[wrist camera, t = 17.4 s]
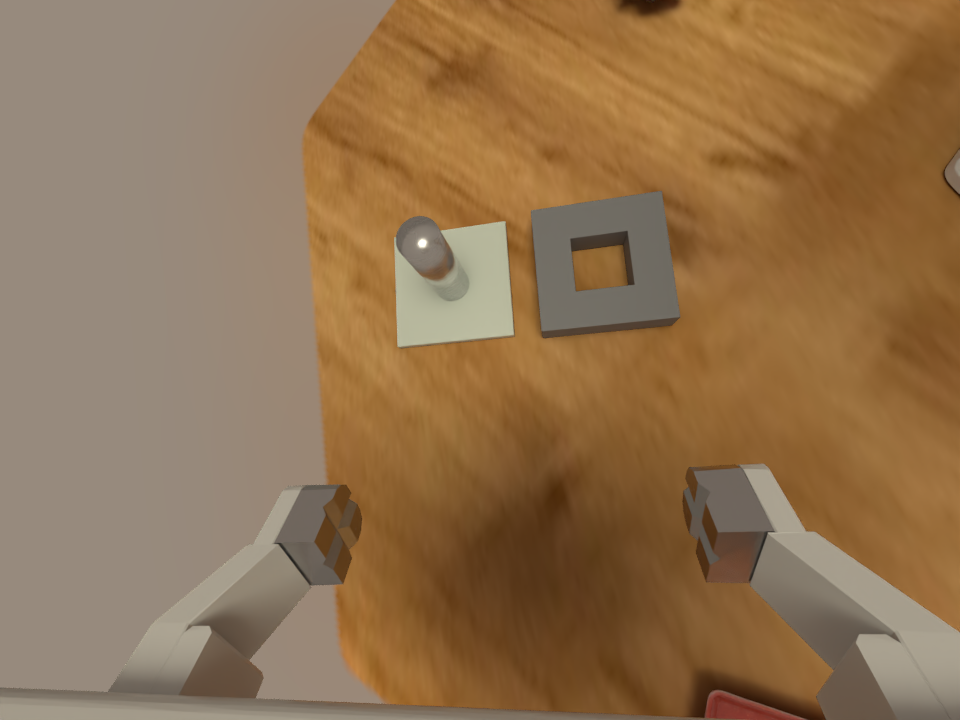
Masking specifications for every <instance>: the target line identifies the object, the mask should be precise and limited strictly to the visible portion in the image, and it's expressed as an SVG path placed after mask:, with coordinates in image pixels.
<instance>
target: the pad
mask: <svg viewBox="0 0 960 720" xmlns="http://www.w3.org/2000/svg"><path fill="white" fill-rule="evenodd" d="M441 233H442V234H443V236H444V238H445V239H446V241H447V243H448V244H449V246H450V248H451V249H452V251H453V253H454V254H455V256H456V257H457V259H458V261H459V262H460V264H461V266H462V267H463V269H464V271H465V272H466V274H467V276H468V278H469V288H468V291H467V293H466V294H465V295H464V296H463V297H462V298H460V299H459V300H456V301H446V300H444V299H442V298H441V297H440V296H439V295H438V294H437V293H436V292H435V291H434V290H433V289H432V288H431V286H430V285H429V284H428V283H427V282H426V281H425V280H424V279H423V278H422V277H421V275H420V274H419V273H418V272H417V271H416V270H415V269H414V268H413V267H412V266H411V264H410V263H409V262H408V261H407V260H406V259H405V258H404V257H403V256H402V255H401V253H400V252H399V251H398V249H397V246H396V237H395V238H394V243H395V276H396V309H397V342H398V347H399V348H409V347H418V346H428V345H438V344H448V343H458V342H467V341H477V340H487V339H497V338H507V337H515V333H514V320H513V307H512V295H511V282H510V269H509V256H508V244H507V231H506V223H505V221H504V222H497V223H490V224H483V225H477V226H470V227H463V228H456V229H449V230H443V231H441Z"/></svg>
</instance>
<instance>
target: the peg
mask: <svg viewBox="0 0 960 720" xmlns="http://www.w3.org/2000/svg"><path fill="white" fill-rule="evenodd" d="M396 246H397V249H398V251H399V252H400V253H401V255H402V256H403V257H404V258H405V259H406V260H407V261H408V262H409V263H410V264H411V266H412V267H413V268H414V269H415V270H416V271H417V272H418V273H419V274H420V275H421V277H422V278H423V279H424V280H425V281H426V282H427V283H428V284H429V285H430V286H431V288H432V289H433V290H434V291H435V292H436V293H437V294H438V295H439V296H440V297H441V298H442V299H444V300H446V301H456V300H459V299H460V298H462V297H463V296H464V295H465V294H466V293H467V291H468V288H469V278H468V276H467V274H466V272H465V271H464V269H463V267H462V266H461V264H460V262H459V261H458V259H457V257H456V256H455V254H454V253H453V251H452V249H451V248H450V246H449V244H448V243H447V241H446V239H445V238H444V236H443V234H442V233H441V231H440V229H439V228H438V226H437V224H436V223H435V222H434V221H433V220H431V219H430V218H427V217H423V216H417V217H413V218H410V219H408V220H407V221H405V222H404V223H403V224H402V225H401V227H400V228H399V230H398V232H397V235H396Z"/></svg>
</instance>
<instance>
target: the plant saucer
mask: <svg viewBox="0 0 960 720" xmlns="http://www.w3.org/2000/svg"><path fill="white" fill-rule="evenodd" d="M704 718H717V719H740V720H808V719H805V718H802V717H799V716H796V715H793V714H790V713H787V712H784V711H781V710H778V709H775V708H772V707H769V706H766V705H763V704H760V703H757V702H755V701H752V700H749V699H746V698H743V697H740V696H737V695H734V694H731V693H728V692H725V691H722V690H713V691H712V692H711V693H710V694H709V696H708V699H707V704H706V711H705V717H704Z"/></svg>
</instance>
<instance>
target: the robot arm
mask: <svg viewBox="0 0 960 720" xmlns="http://www.w3.org/2000/svg"><path fill="white" fill-rule="evenodd" d="M945 177H946V179H947V181H948V182H949V184H950V185H951V186H952V187H953V188H954V189H955V190H956V191H957V192H958V193H959V194H960V149H959V150H958V152H957V153H956V155H955V156H954V157H953V159H952V160H951V161H950V163H949V164H948V166H947V167H946V169H945ZM685 479H686V481H687V484H688V488H687V489H686V490H684V492H683V512H684V517H685V521H686V525H687V528H688V531H689V534H691V535H692V536H693V537H694V538H695V539H696V540H698V543H697V549H696V554H697V557H698V560H699V563H700V566H701V569H702V572H703V574H704V577H705V580H706V582H721V583H750V586H751V587H752V588H753V589H754V590H755V591H756V592H757V593H758V594H759V595H760V596H761V597H762V598H763V599H764V600H765V601H766V602H767V603H768V604H769V605H770V606H771V607H772V608H773V609H774V610H775V611H776V612H777V613H778V614H779V615H780V616H781V617H782V618H783V619H784V621H785V622H786V623H787V624H788V625H789V626H790V627H791V628H792V629H793V630H794V631H795V632H796V633H797V634H798V635H799V636H800V637H801V638H802V639H803V640H804V641H805V642H806V643H807V644H808V645H809V646H810V647H811V648H812V649H813V650H814V651H815V652H816V653H817V654H818V655H819V656H820V657H821V658H822V659H823V660H824V661H825V662H826V663H827V664H828V665H829V666H830V667H831V668H832V669H833V670H834V671H833V672H832V674H831V675H830V676H829V678H828V679H827V681H826V682H825V684H824V685H823V686H822V688H821V689H820V691H819V693H818V694H817V696H816V698H817V700H818V702H819V705H820V707H821V709H822V711H823V714H824V716H825V718H826V720H960V632H958V631H957V630H956V629H954V628H953V627H951V626H950V625H948V624H947V623H945V622H944V621H943V620H941V619H940V618H938V617H937V616H935V615H934V614H932V613H931V612H930V611H928V610H927V609H925V608H924V607H922V606H921V605H920V604H918V603H917V602H915V601H914V600H912V599H911V598H909V597H908V596H907V595H905V594H904V593H902V592H901V591H899V590H898V589H897V588H895V587H894V586H892V585H891V584H889V583H888V582H886V581H885V580H884V579H882V578H881V577H879V576H878V575H876V574H875V573H874V572H872V571H871V570H869V569H868V568H866V567H865V566H863V565H862V564H861V563H859V562H858V561H856V560H855V559H853V558H852V557H851V556H849V555H848V554H846V553H845V552H843V551H842V550H840V549H839V548H838V547H836V546H835V545H833V544H832V543H830V542H829V541H828V540H826V539H825V538H823V537H822V536H820V535H819V534H817V533H816V532H806V530H805V528H804V527H803V525H802V523H801V522H800V520H799V518H798V516H797V515H796V513H795V511H794V510H793V508H792V506H791V505H790V503H789V501H788V500H787V498H786V496H785V494H784V493H783V491H782V489H781V488H780V486H779V484H778V483H777V481H776V479H775V478H774V476H773V474H772V473H771V471H770V469H769V468H768V467H767V466H766V465H765V464H747V465H720V466H703V467H689V468H688V470H687V472H686V478H685ZM350 495H351V492H350V490H349V488H348V487H347V485H302V486H288V487H287V488H286V489H284V490H283V491H282V493H281V495H280V497H279V499H278V500H277V502H276V504H275V506H274V508H273V509H272V511H271V513H270V515H269V516H268V518H267V520H266V522H265V524H264V526H263V527H262V529H261V531H260V533H259V535H258V536H257V538H256V540H255V542H254V544H251V545H247V546H246V547H244V548H243V549H242V550H241V551H239V552H238V553H237V554H236V555H235V556H233V557H232V558H231V559H230V560H229V561H228V562H226V563H225V564H224V565H222V566H221V567H220V568H219V569H218V570H217V571H215V572H214V573H213V574H212V575H211V576H209V577H208V578H207V579H206V580H204V581H203V582H202V583H201V584H199V585H198V586H197V587H196V588H195V589H193V590H192V591H191V592H190V593H189V594H188V595H186V596H185V597H184V598H183V599H181V600H180V601H179V602H178V603H176V604H175V605H174V606H173V607H172V608H170V609H169V610H168V611H167V612H166V613H164V614H163V615H162V616H161V617H160V618H158V619H157V620H156V621H155V622H153V623H152V625H151V626H150V628H149V629H148V631H147V633H146V634H145V636H144V637H143V639H142V640H141V642H140V643H139V645H138V646H137V648H136V650H135V651H134V653H133V654H132V656H131V657H130V659H129V660H128V662H127V663H126V665H125V666H124V668H123V669H122V671H121V673H120V674H119V676H118V677H117V679H116V680H115V682H114V683H113V685H112V686H111V688H110V689H109V691H108V692H96V691H73V690H46V689H22V688H0V720H740V719H717V718H694V717H671V716H648V715H625V714H602V713H579V712H557V711H534V710H511V709H488V708H465V707H442V706H419V705H396V704H373V703H372V704H371V703H350V702H348V703H347V702H327V701H304V700H303V701H302V700H279V699H257V698H256V696H257V693H258V691H259V688H260V686H261V683H262V680H263V674H262V672H261V671H260V670H259V669H258V668H257V667H256V666H255V665H253V664H252V663H251V662H250V661H249V660H250V659H251V657H252V656H253V655H254V654H255V653H256V652H257V650H258V649H259V648H260V647H261V646H262V645H263V643H264V642H265V641H266V640H267V639H268V638H269V636H270V635H271V634H272V633H273V632H274V631H275V629H276V628H277V627H278V626H279V625H280V623H281V622H282V621H283V620H284V619H285V617H286V616H287V615H288V614H289V613H290V612H291V611H292V609H293V608H294V607H295V606H296V605H297V604H298V602H299V601H300V600H301V599H302V598H303V597H304V595H305V594H306V593H307V592H308V591H309V590H310V588H311V586H310V585H336V584H343V583H344V580H345V577H346V574H347V571H348V568H349V565H350V563H351V560H352V557H351V554H350V551H349V549H350V548H351V547H352V546H353V545H354V544H355V543H356V542H357V541H358V539H359V536H360V533H361V526H362V516H361V511H360V508H359V506H358V504H356V503H355V502H353V501H352V500H350V499H349V498H350Z"/></svg>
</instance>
